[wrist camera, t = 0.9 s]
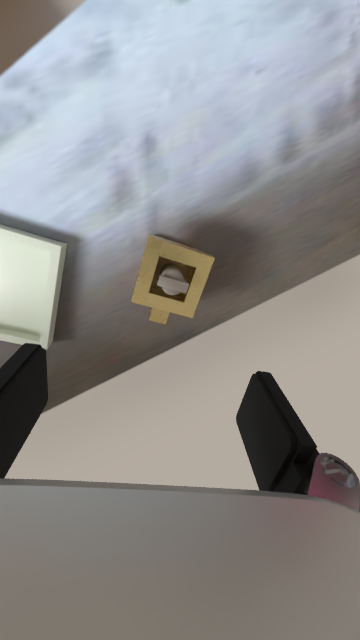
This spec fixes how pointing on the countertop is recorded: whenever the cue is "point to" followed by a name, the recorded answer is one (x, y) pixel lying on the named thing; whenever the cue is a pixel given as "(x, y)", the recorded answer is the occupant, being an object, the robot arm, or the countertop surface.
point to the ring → (156, 296)
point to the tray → (29, 286)
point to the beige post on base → (171, 276)
